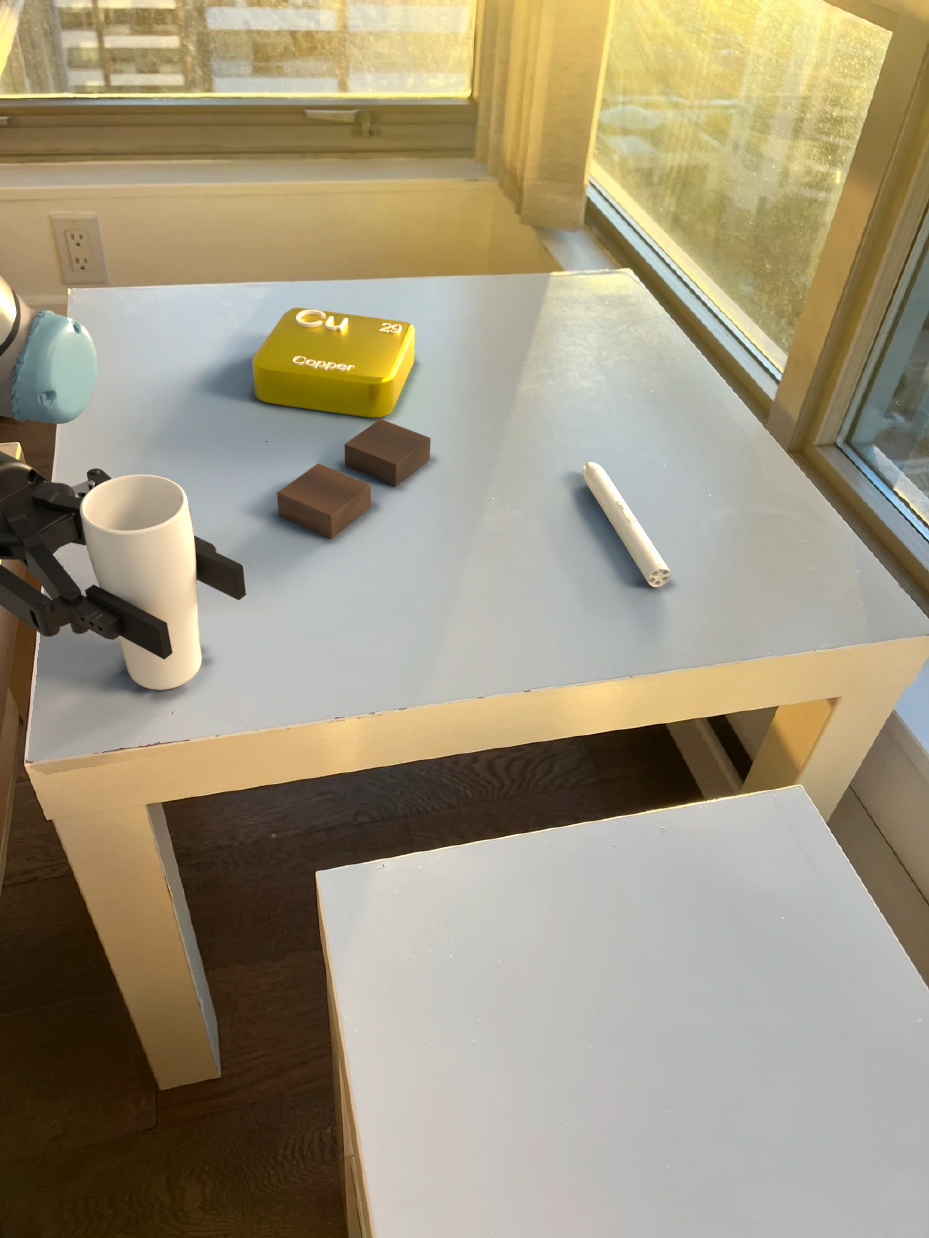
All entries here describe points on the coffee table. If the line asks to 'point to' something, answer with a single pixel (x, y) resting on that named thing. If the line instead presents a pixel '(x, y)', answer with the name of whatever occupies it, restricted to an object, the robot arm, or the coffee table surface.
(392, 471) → the walnut block far
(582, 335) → the coffee table surface
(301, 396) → the element tile
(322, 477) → the walnut block near
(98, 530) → the drinking glass
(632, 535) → the marker
